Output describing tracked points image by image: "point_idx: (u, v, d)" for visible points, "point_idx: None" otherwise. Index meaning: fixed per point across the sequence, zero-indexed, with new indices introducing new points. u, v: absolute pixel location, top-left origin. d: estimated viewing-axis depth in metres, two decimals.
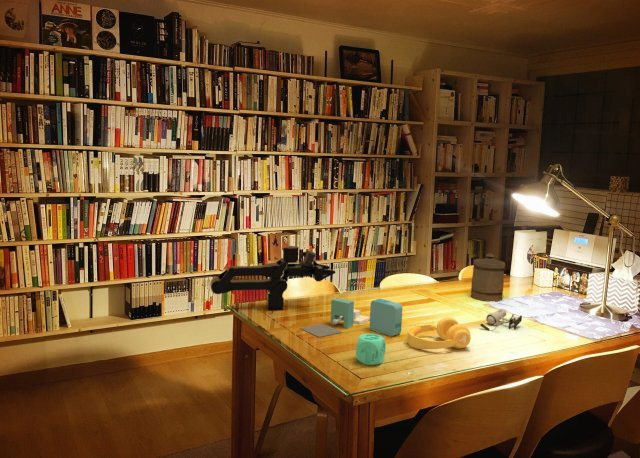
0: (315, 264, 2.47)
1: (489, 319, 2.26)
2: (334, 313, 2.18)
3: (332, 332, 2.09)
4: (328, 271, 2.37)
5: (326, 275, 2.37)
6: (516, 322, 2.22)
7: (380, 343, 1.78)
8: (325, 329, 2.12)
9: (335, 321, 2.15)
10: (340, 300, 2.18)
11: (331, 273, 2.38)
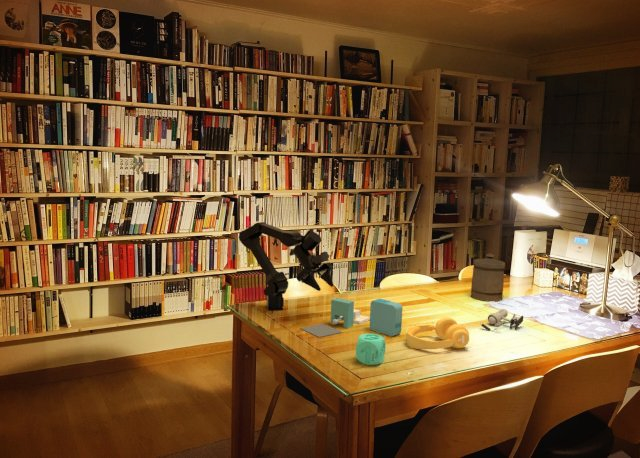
0: (326, 271, 2.28)
1: (490, 319, 2.25)
2: (334, 313, 2.18)
3: (332, 332, 2.09)
4: (314, 283, 2.18)
5: (310, 284, 2.19)
6: (517, 322, 2.22)
7: (380, 343, 1.78)
8: (325, 329, 2.12)
9: (335, 321, 2.15)
10: (340, 300, 2.18)
11: (315, 287, 2.19)
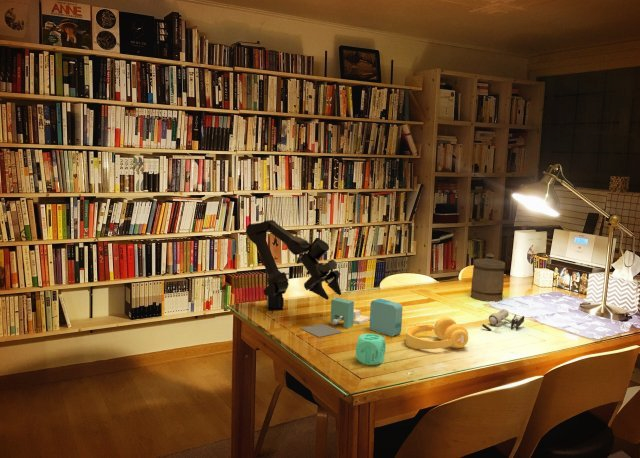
0: (334, 279, 2.26)
1: (491, 320, 2.25)
2: (334, 313, 2.18)
3: (332, 332, 2.09)
4: (322, 291, 2.16)
5: (318, 292, 2.17)
6: (518, 323, 2.21)
7: (380, 343, 1.78)
8: (325, 329, 2.12)
9: (335, 321, 2.15)
10: (340, 300, 2.18)
11: (323, 296, 2.17)
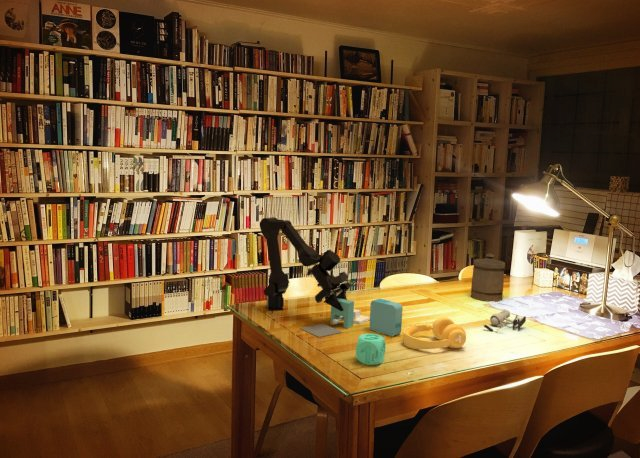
0: (341, 293, 2.21)
1: (493, 320, 2.24)
2: (334, 313, 2.18)
3: (332, 332, 2.09)
4: (336, 303, 2.16)
5: (332, 304, 2.17)
6: (520, 323, 2.21)
7: (380, 343, 1.78)
8: (325, 329, 2.12)
9: (335, 321, 2.15)
10: (340, 300, 2.18)
11: (337, 307, 2.16)
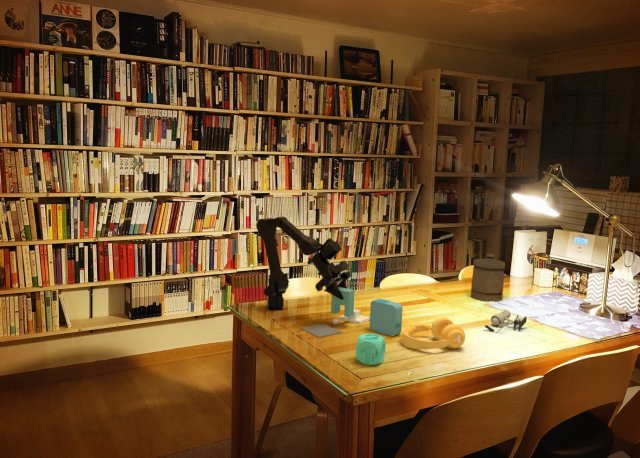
0: (342, 282, 2.21)
1: (494, 320, 2.24)
2: (335, 302, 2.18)
3: (332, 332, 2.09)
4: (337, 292, 2.15)
5: (332, 292, 2.16)
6: (521, 323, 2.21)
7: (380, 343, 1.78)
8: (325, 329, 2.12)
9: (335, 321, 2.15)
10: (341, 289, 2.17)
11: (338, 296, 2.16)
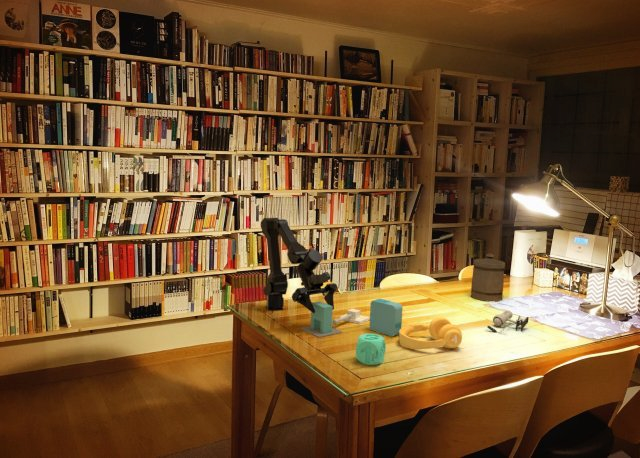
0: (329, 293, 2.14)
1: (496, 321, 2.23)
2: (313, 317, 2.11)
3: (332, 332, 2.09)
4: (308, 304, 2.07)
5: (305, 305, 2.09)
6: (523, 324, 2.20)
7: (380, 343, 1.78)
8: None
9: (335, 321, 2.15)
10: (319, 304, 2.10)
11: (310, 309, 2.07)
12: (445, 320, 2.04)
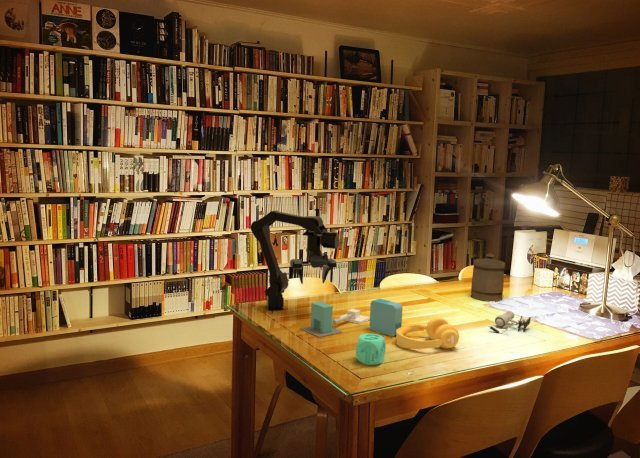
0: (325, 268, 2.31)
1: (498, 321, 2.23)
2: (313, 317, 2.11)
3: (332, 332, 2.09)
4: (299, 276, 2.29)
5: (298, 273, 2.31)
6: (525, 324, 2.20)
7: (380, 343, 1.78)
8: None
9: (335, 321, 2.15)
10: (319, 304, 2.10)
11: (300, 279, 2.31)
12: (442, 320, 2.04)
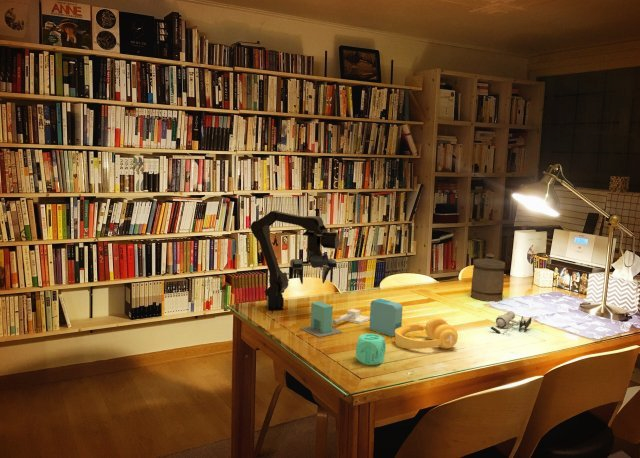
0: (325, 268, 2.31)
1: (499, 322, 2.22)
2: (313, 317, 2.11)
3: (332, 332, 2.09)
4: (299, 276, 2.29)
5: (298, 273, 2.31)
6: (526, 324, 2.19)
7: (380, 343, 1.78)
8: None
9: (335, 321, 2.15)
10: (319, 304, 2.10)
11: (300, 279, 2.31)
12: (441, 320, 2.04)
